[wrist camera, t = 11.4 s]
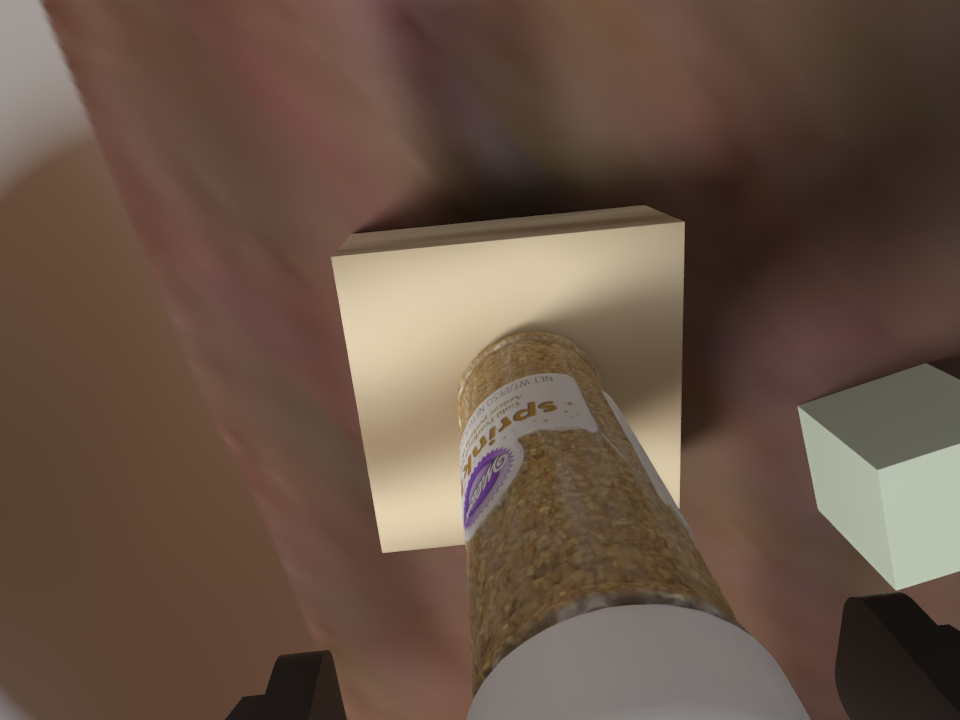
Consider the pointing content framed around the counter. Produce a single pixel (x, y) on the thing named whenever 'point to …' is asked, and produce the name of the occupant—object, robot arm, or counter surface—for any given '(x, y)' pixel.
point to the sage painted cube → (891, 471)
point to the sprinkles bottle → (588, 560)
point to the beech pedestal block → (497, 314)
